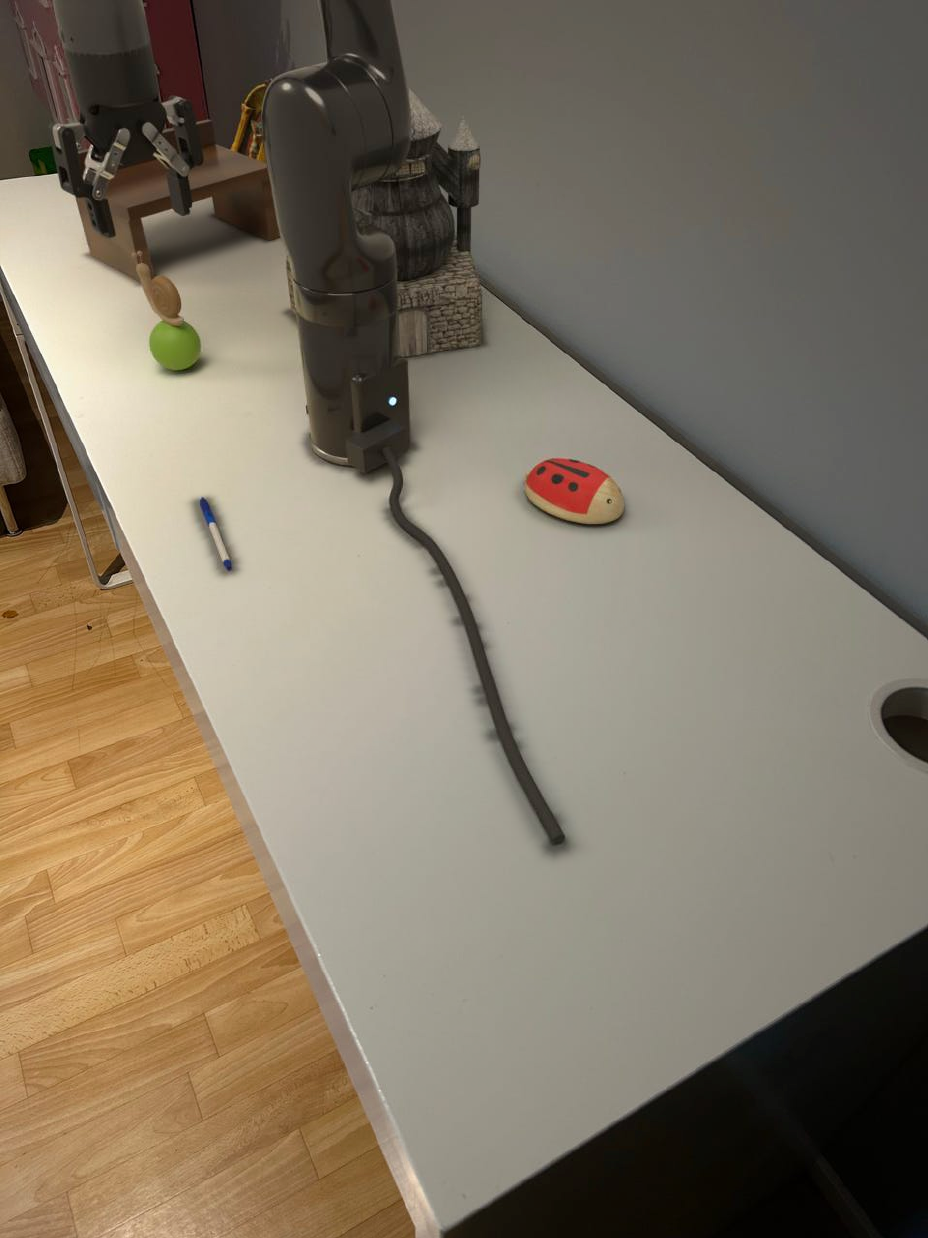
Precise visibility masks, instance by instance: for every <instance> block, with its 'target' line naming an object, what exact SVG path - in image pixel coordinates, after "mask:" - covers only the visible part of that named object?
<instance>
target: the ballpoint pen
mask: <svg viewBox="0 0 928 1238" xmlns="http://www.w3.org/2000/svg"><path fill="white" fill-rule="evenodd" d="M199 504H200V508H201V510H202V513H203V517H204V519H205V522H206V524H207V527H209V530H210V533H211V535H212V538H213V540H214V542H215V546H216V548H217V552H218V554H219V556H220V559H221V561H222V564H223V565H224V567H225V568H226V570H228V571H229V570H232V563H231V559H230V556H229V553H228V551H227V549H226V546H225V544H224V541H223V538H222V536H221V534H220V531H219V529H218V526H217V522H216V519H215V517H214V514H213V511H212V509H211V506H210V504H209V502H208V501H207V499H205V497H204V496H201V498H200V499H199Z"/></svg>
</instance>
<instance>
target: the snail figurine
mask: <svg viewBox="0 0 928 1238" xmlns="http://www.w3.org/2000/svg"><path fill="white" fill-rule="evenodd" d="M137 255H138V256H140V259H141V256H142V252H141V251H138V252H137V254H136V253H133V254H132V257H133V258H137ZM135 262H136V259H135ZM136 265H137V263H136ZM136 270H137V273H138V275H139V277H140V280H141V282H140V284H141V287H142V290H143V293H144V296H145V297H146V299H147V301H148V304H149V305H150V308H151V309H152V311H153V312H154V313H155V314H156V316H158V317H159V318H160V319H161V320H162V321H160V322H158V323H156V325H155V326H154V327H153V329H152V330H151V332H150V334H149V339H148V345H149V349H150V352H151V355H152V357H153V358H154V359H155V361H156V362H157V363H159V365H160V366H162V367H164V368H167V369H168V370H172V371H182V370H186V369H188V368H191V367H192V366H193V365H195V363H196V362H197V361H198V360H199V357H200V354H201V352H202V342H201V338H200V336H199V333H198V331H197V330H196V328H194V327H193V326H192V324H190V323H189V322H187V321H185V318H184V317H183V316H180V315H179V314H180V313H181V311H182V299H181V296H180V293H179V290H178V289H177V286H176V285H175V284H174V282H173V281H172V280H171V279H169V278H168V277H167V276H164V275H155V276H154V278H153V279H151V277H150V270H149V267H148V266H147V265H146V264H144V263H142V260H141V263H140V264H138V265H137V268H136Z"/></svg>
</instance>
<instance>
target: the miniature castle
mask: <svg viewBox="0 0 928 1238" xmlns="http://www.w3.org/2000/svg"><path fill="white" fill-rule="evenodd" d="M408 93H409V100H410V108H411V122H412V132H411V143H410V149H409V153H408V156H407V159H406V161H405V163H404V164H403V166H402V168H401V169H400V170H399V171H398V172H397V173H395V174H394V175H392V176H391V177H389V178H387V179H385V180H382V181H380V182H377V183H375V184H372V185H369V186H366V187H364V188H361V189H358V190H355V191H353V192H351V195H352V203H353V210H354V216H355V221H358V222H363V223H367V224H371V225H374V226H376V227H379V228H381V229H383V230H384V231H386V232H387V233H388V234H389V235H390V236H391V237H392V238H393V240H394V243H395V247H396V255H397V287H398V314H399V336H400V356H402V357H404V358H406V357H411V356H412V357H413V356H420V355H426V354H428V355H429V354H432V353H438V352H445V351H451V350H452V351H453V350H457V349H458V350H459V349H465V348H470V347H477V346H480V345H481V344H482V328H483V327H482V325H483V324H482V322H483V321H482V320H483V291H482V285H481V282H480V279H479V278H480V277H479V275H478V272H477V269H476V266H475V262H474V258H473V255H472V250H471V249H472V208H474V207H477V206H478V205H479V204H480V168H481V166H482V163H481V162H482V155H481V145H480V143H478V141H477V140H476V138H475V137H474V135H473V133H472V131H471V129H470V126H469V123H468V120H467V118H466V115H465V114H463V116H462V118H461V121H460V123H459V126H458V128H457V131H456V133H455V136H454V137H453V138H452V139H451V141H450V142H449V143H448V144H447V151H446V149H444V147H443V146H441V144H440V143H439V142H438V140H439V137H440V134H441V131H442V123H441V121H440V120H439V119H438V118H437V117H436V116H435V115H434V114H433V113H432V112H431V111H430V110H429V109H428V108H427V107H426V105H425V104H424V103H423V102H422V101H421V100H420V99H419V98H418V96H417V95H416V94H415V93H414V92H413V91H412V89H411V88H410V87H409V86H408ZM441 188H442V190H444V191H445V193H447V199H446V197H445V196H444V194H443V193H442V190H441ZM452 207H453V208H456V226H455V217H454V213H453V210H452ZM285 259H286V260H285V269H286V271H285V272H286V278H287V287H288V293H289V303H290V309H291V310H290V311H291V314H292V315H293V316H294V317H295V318H296V310H295V300H294V292H293V283H292V274H291V267H290V261H289V258H288V255H287V254H286V258H285Z"/></svg>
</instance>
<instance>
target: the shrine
mask: <svg viewBox="0 0 928 1238" xmlns="http://www.w3.org/2000/svg"><path fill="white" fill-rule="evenodd" d="M273 80H274V79H273V78H269V79H265V80H264V83H263V84H260V85H257V86H255V88H253V89H252V90H251V91H250V92H249V93H248V94H247V97H246V99H245V100H244V103H241V110H242V112H241V117H240V121H239V124H238V127H237V130H236V134H235V136H234V137H235V138H234V141H233V143H232V146H231V148H230V150H232V151H235V152H237V153H240V154H243V155H245V156H248V157H250V158H253V159H256V160H258V161H261V162H263V163H266V160H265V154H264V147H263V140H262V130H261V111H262V103H263V99H264V95H265V92H266V90H267V88H268V86H269V84H270V83H271V82H272V81H273Z"/></svg>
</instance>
